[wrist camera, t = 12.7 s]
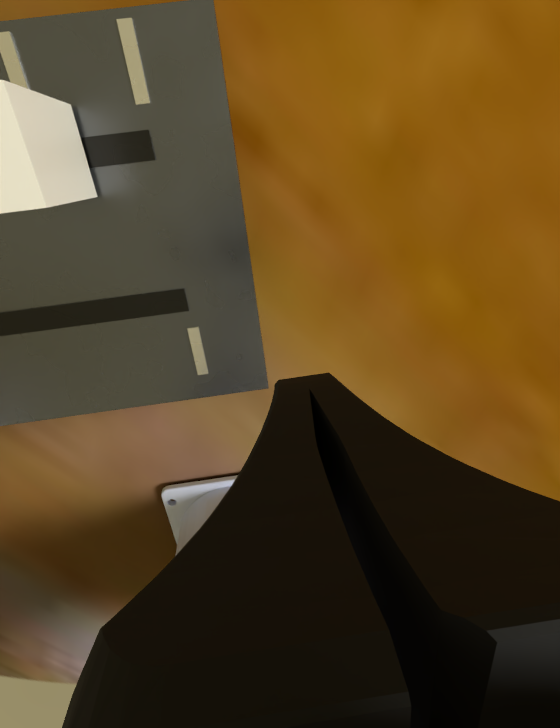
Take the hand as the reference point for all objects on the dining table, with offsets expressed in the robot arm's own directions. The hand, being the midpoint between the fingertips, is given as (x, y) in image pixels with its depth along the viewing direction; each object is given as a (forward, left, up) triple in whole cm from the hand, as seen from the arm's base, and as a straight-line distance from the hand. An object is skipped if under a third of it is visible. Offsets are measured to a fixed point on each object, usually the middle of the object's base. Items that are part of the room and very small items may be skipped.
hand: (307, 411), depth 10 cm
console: (+3, +12, -10) cm, 16 cm away
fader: (+7, +8, -9) cm, 13 cm away
